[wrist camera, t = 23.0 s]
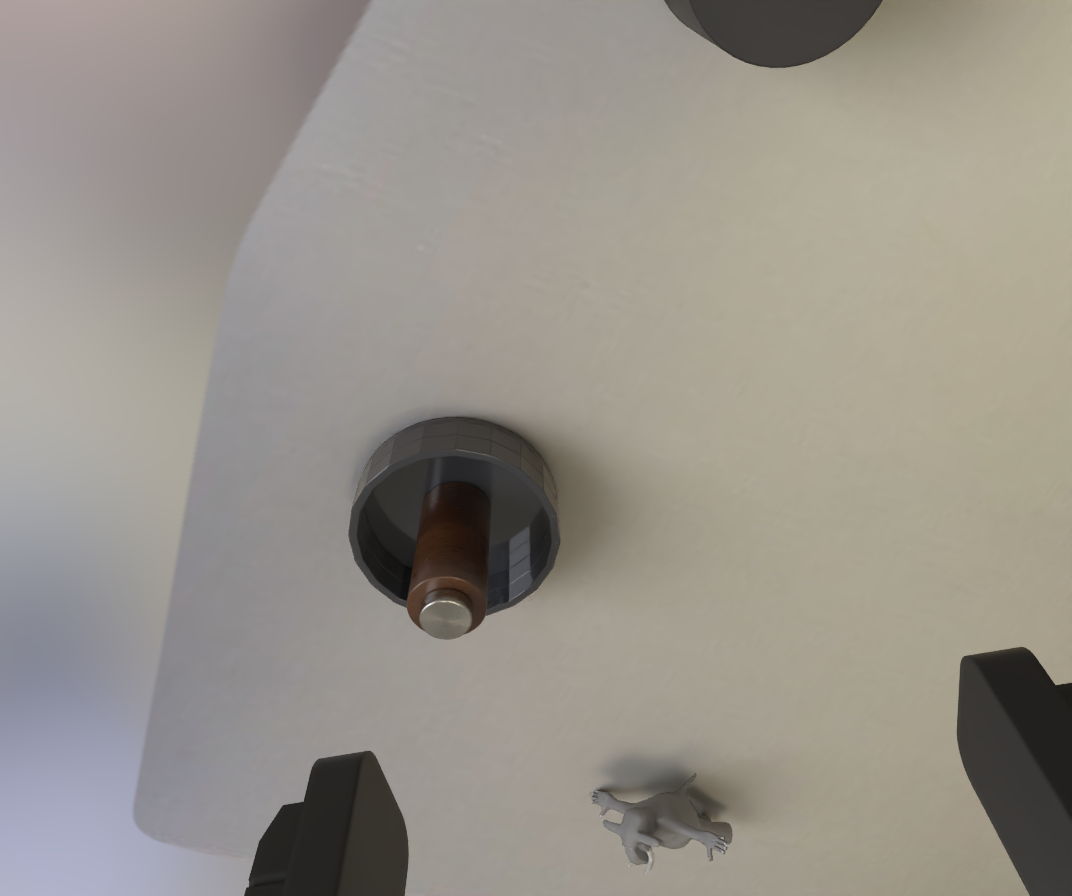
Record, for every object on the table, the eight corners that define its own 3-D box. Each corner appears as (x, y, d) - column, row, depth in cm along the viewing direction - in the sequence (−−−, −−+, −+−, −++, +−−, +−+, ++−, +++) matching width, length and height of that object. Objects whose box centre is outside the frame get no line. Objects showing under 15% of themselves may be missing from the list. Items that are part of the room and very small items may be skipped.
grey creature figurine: (644, 852, 59) (554, 842, 53) (663, 760, 61) (579, 741, 55) (777, 907, 52) (690, 903, 46) (796, 802, 53) (714, 784, 48)
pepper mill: (407, 508, 44) (387, 619, 37) (457, 468, 42) (445, 575, 36) (456, 548, 45) (445, 662, 38) (505, 511, 44) (503, 622, 37)
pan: (317, 498, 44) (305, 534, 41) (459, 377, 40) (455, 409, 38) (457, 609, 48) (454, 648, 45) (597, 507, 44) (602, 544, 42)
